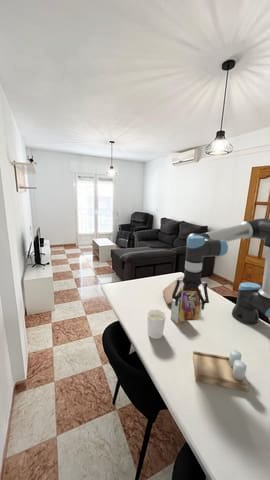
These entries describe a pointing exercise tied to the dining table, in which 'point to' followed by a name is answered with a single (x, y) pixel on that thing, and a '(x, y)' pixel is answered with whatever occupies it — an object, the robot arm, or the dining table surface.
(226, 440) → the dining table surface
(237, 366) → the smooth rounded lump
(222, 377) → the tan tray
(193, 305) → the candy box
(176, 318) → the small box
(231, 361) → the white egg
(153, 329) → the white cream cup
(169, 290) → the case
